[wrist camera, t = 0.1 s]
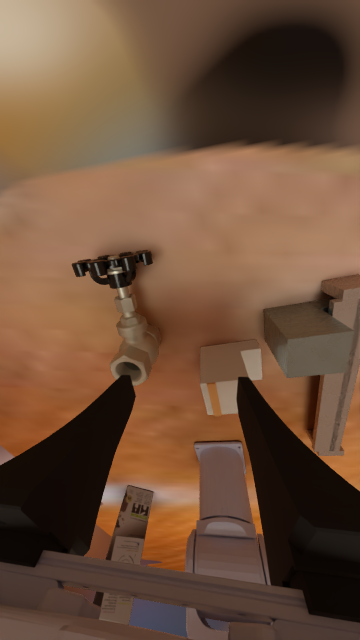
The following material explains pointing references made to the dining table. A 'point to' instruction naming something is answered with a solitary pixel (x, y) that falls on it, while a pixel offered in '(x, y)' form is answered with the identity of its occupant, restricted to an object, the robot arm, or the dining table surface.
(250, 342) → the block
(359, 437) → the dining table surface
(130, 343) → the valve
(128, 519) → the coffee box
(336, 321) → the rail
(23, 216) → the dining table surface
